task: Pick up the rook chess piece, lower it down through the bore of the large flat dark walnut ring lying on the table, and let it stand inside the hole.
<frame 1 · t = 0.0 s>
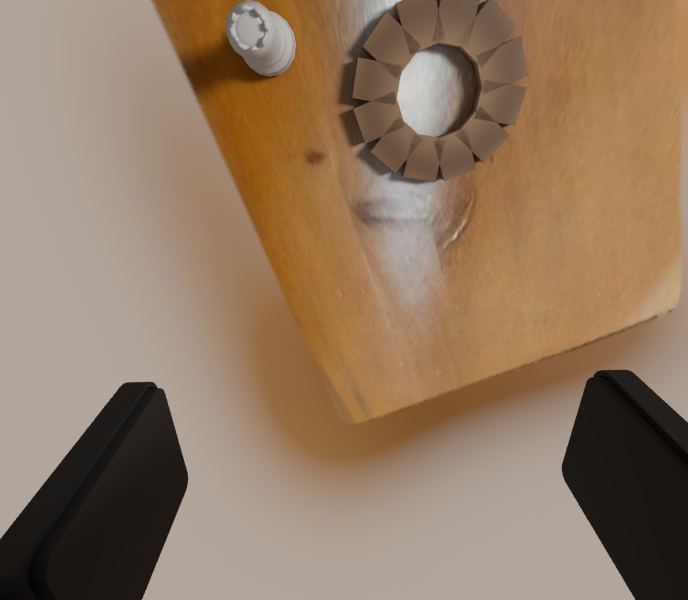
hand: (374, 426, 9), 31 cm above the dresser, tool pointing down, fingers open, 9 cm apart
rook chess piece: (269, 45, 32), on the dresser
walnut ring: (436, 93, 34), on the dresser
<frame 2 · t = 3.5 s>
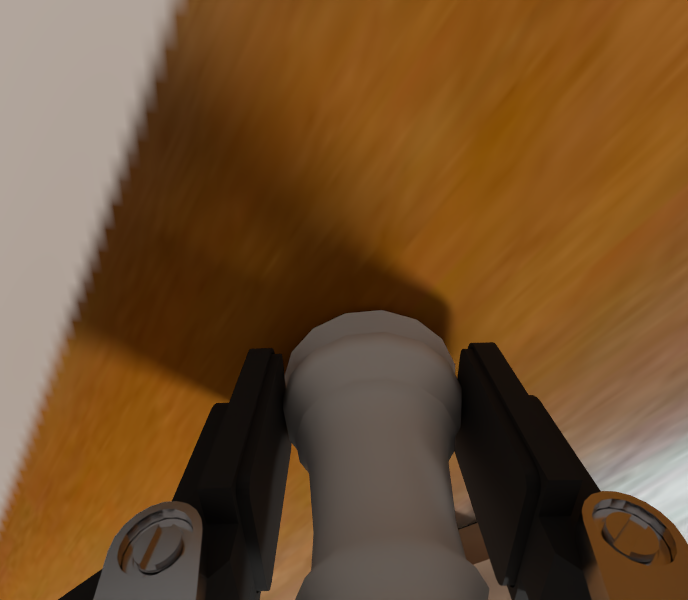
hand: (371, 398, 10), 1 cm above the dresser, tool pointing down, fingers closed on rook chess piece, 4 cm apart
rook chess piece: (368, 370, 11), on the dresser, touching gripper
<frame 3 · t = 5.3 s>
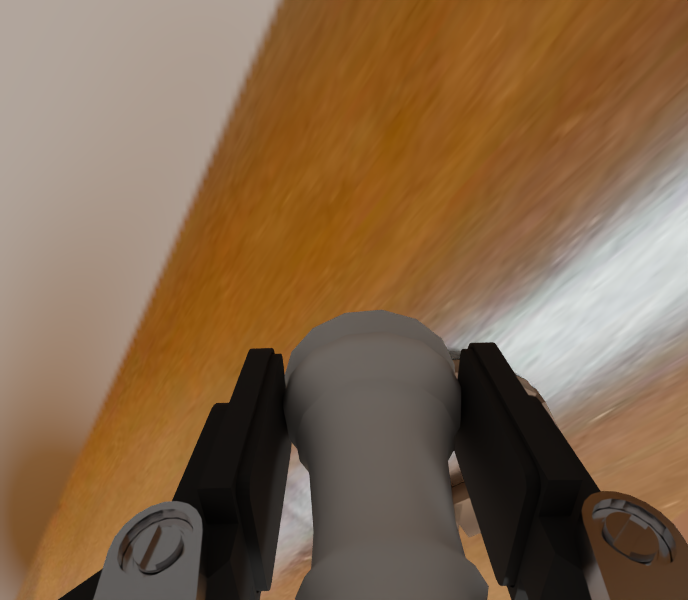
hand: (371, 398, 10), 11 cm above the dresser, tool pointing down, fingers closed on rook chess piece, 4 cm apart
rook chess piece: (368, 369, 11), point 10 cm above the dresser, touching gripper
walnut ring: (439, 452, 25), on the dresser
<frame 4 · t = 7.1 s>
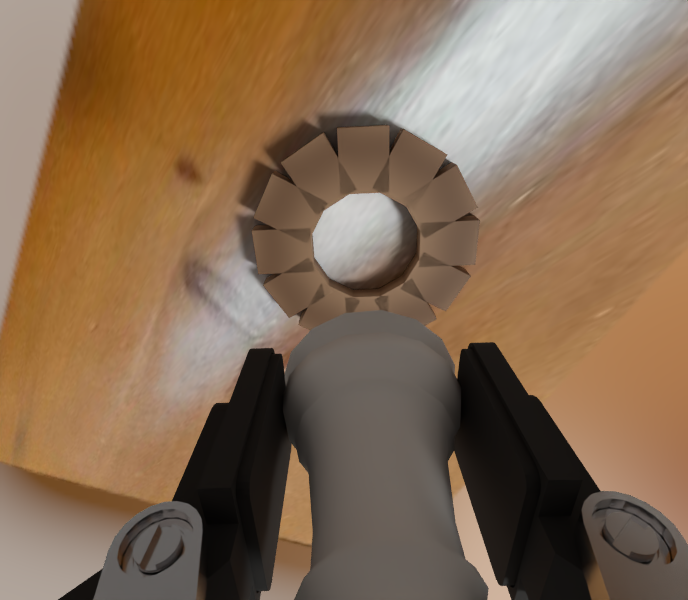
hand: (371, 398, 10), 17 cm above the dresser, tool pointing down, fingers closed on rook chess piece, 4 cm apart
rook chess piece: (367, 370, 11), point 16 cm above the dresser, touching gripper
walnut ring: (364, 242, 26), on the dresser
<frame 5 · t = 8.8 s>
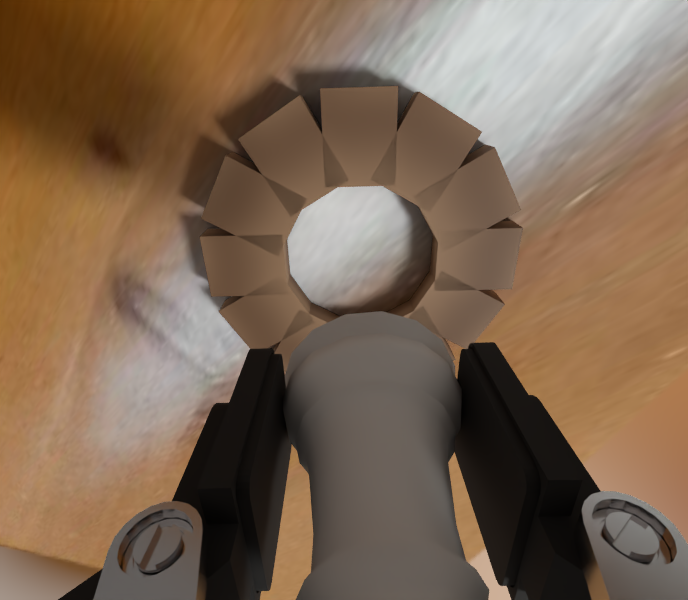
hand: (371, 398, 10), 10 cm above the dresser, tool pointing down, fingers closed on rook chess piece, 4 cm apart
rook chess piece: (368, 371, 11), point 9 cm above the dresser, touching gripper
walnut ring: (359, 254, 19), on the dresser
when the fingers open (2 cm above the dresser, at t = 10.6 s): rook chess piece drops 1 cm, resting in walnut ring.
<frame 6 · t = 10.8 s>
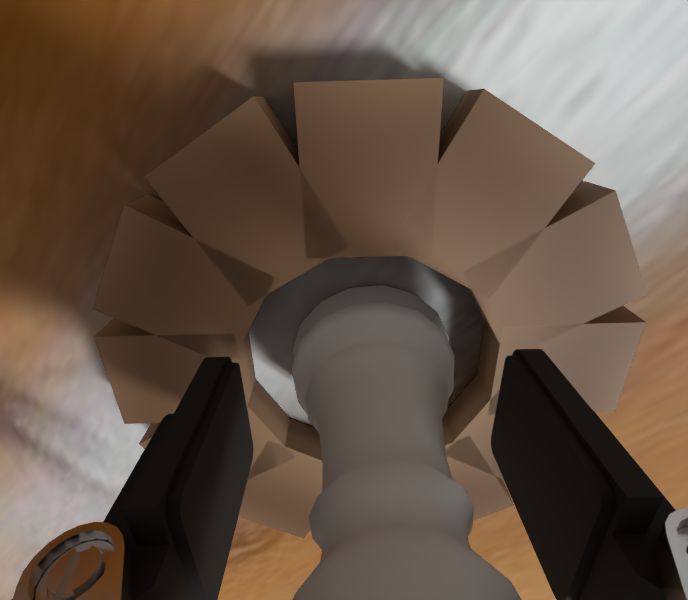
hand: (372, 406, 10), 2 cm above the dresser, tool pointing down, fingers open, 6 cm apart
rook chess piece: (369, 343, 12), resting in walnut ring
walnut ring: (366, 351, 12), on the dresser
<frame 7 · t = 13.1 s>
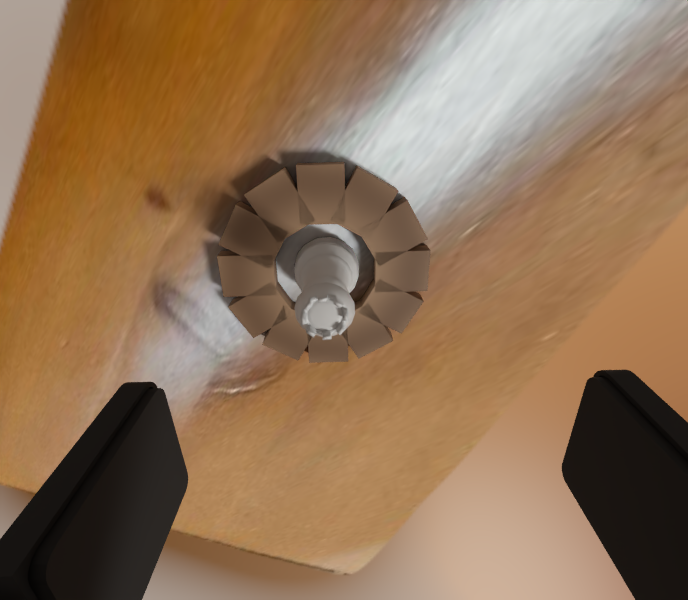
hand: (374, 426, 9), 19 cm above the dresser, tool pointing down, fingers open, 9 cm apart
rook chess piece: (326, 265, 28), resting in walnut ring
walnut ring: (325, 267, 28), on the dresser
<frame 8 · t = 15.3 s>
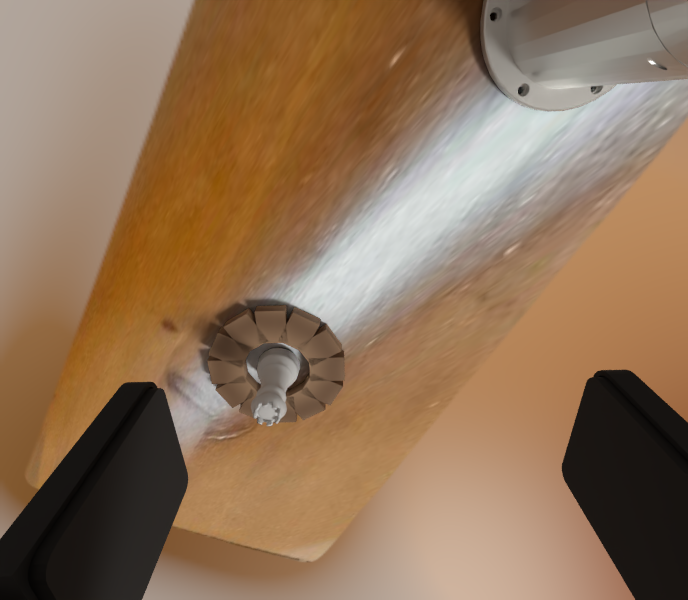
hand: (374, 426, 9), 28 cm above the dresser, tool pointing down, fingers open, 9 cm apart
rook chess piece: (279, 361, 43), resting in walnut ring
walnut ring: (278, 364, 42), on the dresser
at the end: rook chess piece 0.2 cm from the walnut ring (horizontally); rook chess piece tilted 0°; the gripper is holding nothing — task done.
